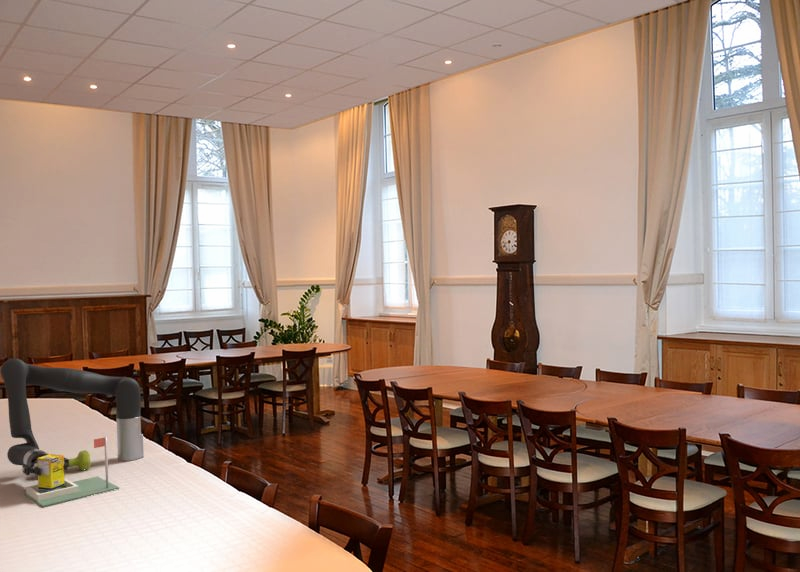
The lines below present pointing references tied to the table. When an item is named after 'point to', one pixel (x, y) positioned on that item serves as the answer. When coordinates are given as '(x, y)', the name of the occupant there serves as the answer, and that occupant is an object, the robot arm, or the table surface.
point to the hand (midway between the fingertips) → (52, 469)
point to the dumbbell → (81, 460)
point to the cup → (73, 486)
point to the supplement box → (51, 471)
